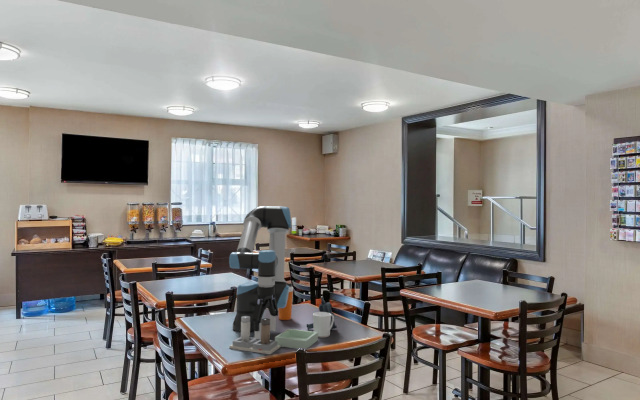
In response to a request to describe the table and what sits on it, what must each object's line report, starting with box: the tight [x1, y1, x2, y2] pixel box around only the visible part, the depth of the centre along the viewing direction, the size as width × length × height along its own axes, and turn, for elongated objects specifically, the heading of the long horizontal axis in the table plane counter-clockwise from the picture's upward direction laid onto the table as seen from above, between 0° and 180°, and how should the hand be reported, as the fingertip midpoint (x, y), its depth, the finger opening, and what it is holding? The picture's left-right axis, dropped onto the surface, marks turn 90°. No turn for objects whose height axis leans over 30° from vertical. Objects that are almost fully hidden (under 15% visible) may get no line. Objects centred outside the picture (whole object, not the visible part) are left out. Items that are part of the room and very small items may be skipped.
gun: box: [306, 296, 338, 331], centre depth 218 cm, size 3×17×15 cm
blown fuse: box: [261, 318, 271, 345], centre depth 186 cm, size 4×4×12 cm
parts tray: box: [274, 328, 319, 350], centre depth 195 cm, size 15×15×4 cm
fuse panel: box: [228, 336, 281, 355], centre depth 187 cm, size 20×10×3 cm, turn 69°
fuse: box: [240, 316, 251, 342], centre depth 189 cm, size 4×4×12 cm
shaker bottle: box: [278, 282, 294, 321], centre depth 240 cm, size 9×9×20 cm
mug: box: [312, 311, 335, 338], centre depth 209 cm, size 11×9×10 cm
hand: (265, 334), depth 185 cm, fingers open, 13 cm apart
